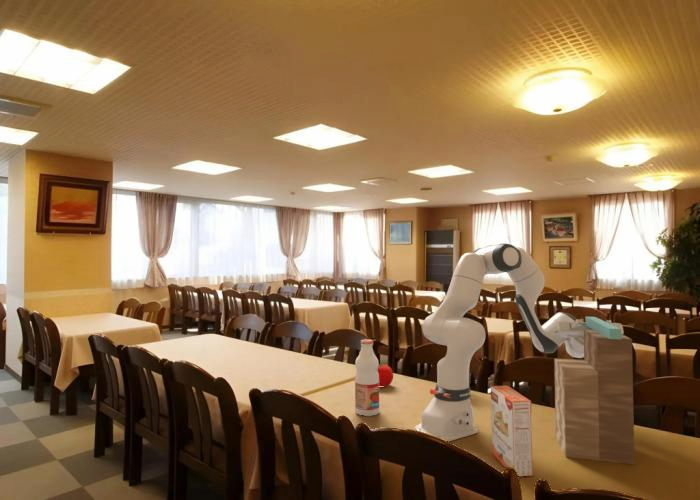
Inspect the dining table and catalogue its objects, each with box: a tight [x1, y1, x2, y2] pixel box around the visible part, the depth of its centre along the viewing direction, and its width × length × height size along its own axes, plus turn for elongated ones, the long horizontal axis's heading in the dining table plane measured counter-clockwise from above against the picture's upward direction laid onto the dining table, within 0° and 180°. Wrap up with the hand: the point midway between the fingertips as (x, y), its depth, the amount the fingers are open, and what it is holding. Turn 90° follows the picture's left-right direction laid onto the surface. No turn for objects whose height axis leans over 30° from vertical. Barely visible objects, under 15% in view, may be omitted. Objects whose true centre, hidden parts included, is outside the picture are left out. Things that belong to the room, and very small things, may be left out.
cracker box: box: [490, 385, 534, 478], centre depth 121 cm, size 14×6×21 cm, turn 5°
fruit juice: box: [354, 338, 380, 417], centre depth 164 cm, size 9×9×28 cm
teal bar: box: [584, 316, 621, 339], centre depth 134 cm, size 26×3×3 cm, turn 164°
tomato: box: [377, 363, 394, 387], centre depth 197 cm, size 12×12×10 cm
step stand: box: [553, 330, 635, 465], centre depth 131 cm, size 15×18×36 cm
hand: (594, 321), depth 142 cm, fingers open, 8 cm apart
